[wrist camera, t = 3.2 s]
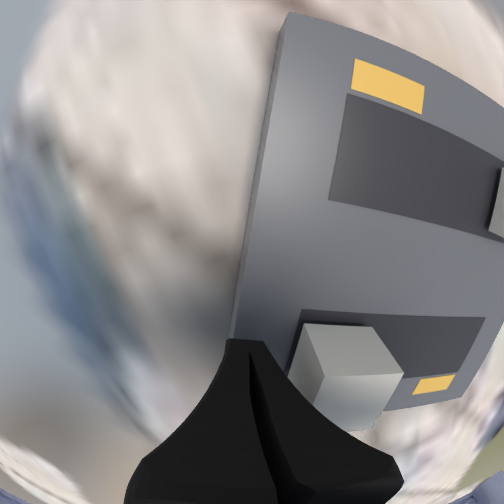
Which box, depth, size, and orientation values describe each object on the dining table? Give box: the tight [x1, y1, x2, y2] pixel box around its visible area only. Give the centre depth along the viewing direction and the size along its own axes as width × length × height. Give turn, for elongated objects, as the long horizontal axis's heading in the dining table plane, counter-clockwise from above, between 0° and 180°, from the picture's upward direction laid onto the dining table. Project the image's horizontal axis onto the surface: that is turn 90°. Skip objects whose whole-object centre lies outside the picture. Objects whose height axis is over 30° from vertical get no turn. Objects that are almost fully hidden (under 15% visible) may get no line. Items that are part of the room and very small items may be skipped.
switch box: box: [228, 12, 504, 411], centre depth 12 cm, size 17×16×2 cm
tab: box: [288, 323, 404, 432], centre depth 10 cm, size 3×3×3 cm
